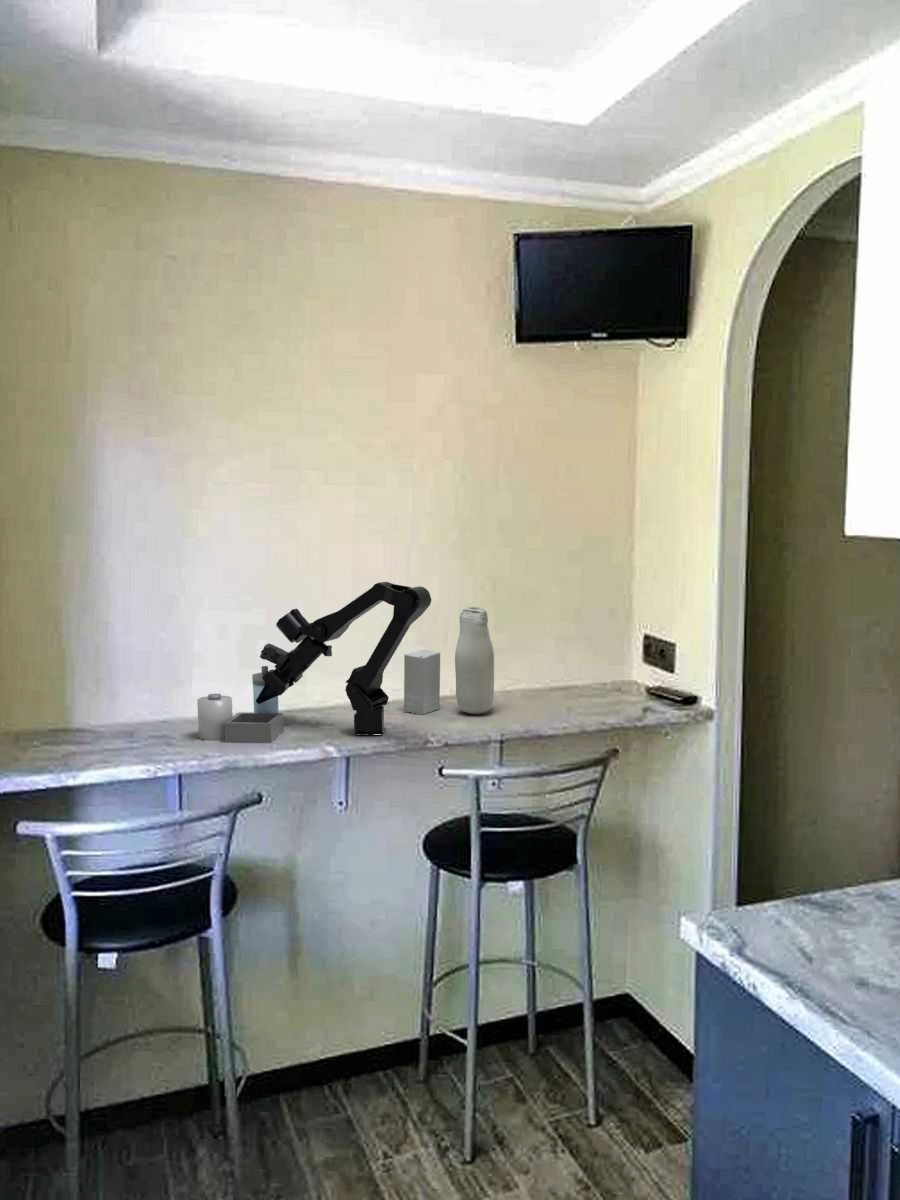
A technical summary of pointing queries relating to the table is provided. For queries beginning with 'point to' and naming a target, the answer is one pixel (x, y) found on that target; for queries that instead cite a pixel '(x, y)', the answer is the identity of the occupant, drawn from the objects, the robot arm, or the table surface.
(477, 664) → the glass bottle
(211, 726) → the jar and tray set
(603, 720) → the table surface
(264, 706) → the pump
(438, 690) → the skincare box
